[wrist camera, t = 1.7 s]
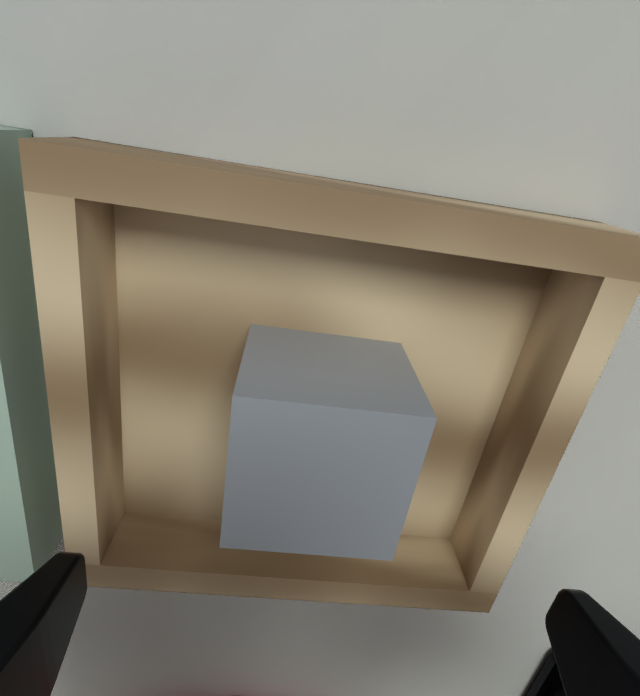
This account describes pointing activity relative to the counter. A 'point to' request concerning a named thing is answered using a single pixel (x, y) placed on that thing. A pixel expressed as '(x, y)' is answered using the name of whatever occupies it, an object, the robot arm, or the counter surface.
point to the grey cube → (323, 445)
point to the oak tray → (315, 316)
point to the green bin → (22, 390)
